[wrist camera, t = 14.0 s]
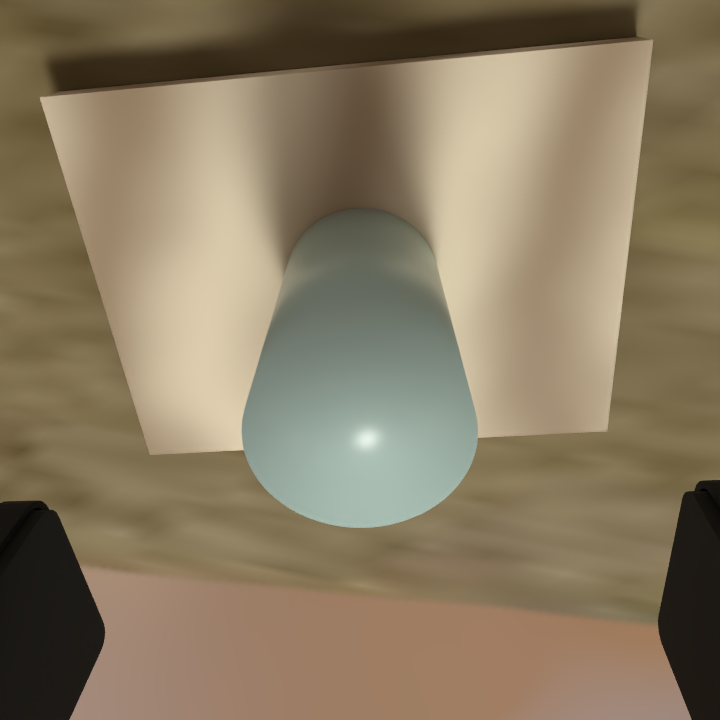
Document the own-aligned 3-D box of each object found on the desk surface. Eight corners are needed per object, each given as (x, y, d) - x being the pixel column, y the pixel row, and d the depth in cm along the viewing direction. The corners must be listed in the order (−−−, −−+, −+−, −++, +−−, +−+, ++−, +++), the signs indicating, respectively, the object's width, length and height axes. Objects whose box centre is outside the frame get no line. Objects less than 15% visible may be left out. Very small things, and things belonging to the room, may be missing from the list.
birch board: (637, 36, 17) (653, 39, 16) (596, 411, 23) (606, 431, 22) (59, 91, 18) (39, 97, 17) (160, 434, 24) (149, 454, 23)
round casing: (438, 203, 18) (481, 327, 11) (438, 346, 21) (475, 523, 14) (277, 212, 19) (223, 341, 12) (294, 353, 21) (258, 531, 14)
